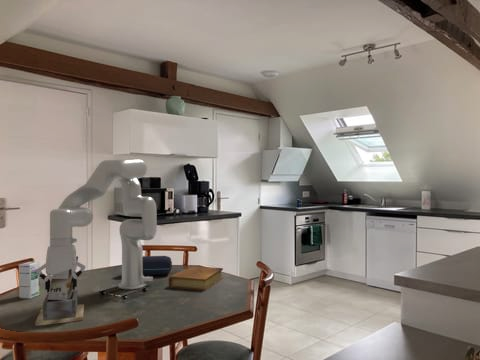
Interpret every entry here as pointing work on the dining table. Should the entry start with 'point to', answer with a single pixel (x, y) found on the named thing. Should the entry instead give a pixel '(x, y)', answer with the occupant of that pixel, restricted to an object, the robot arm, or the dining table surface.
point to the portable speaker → (156, 265)
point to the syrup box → (29, 280)
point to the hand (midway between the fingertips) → (61, 290)
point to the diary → (195, 278)
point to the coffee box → (61, 285)
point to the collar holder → (60, 311)
